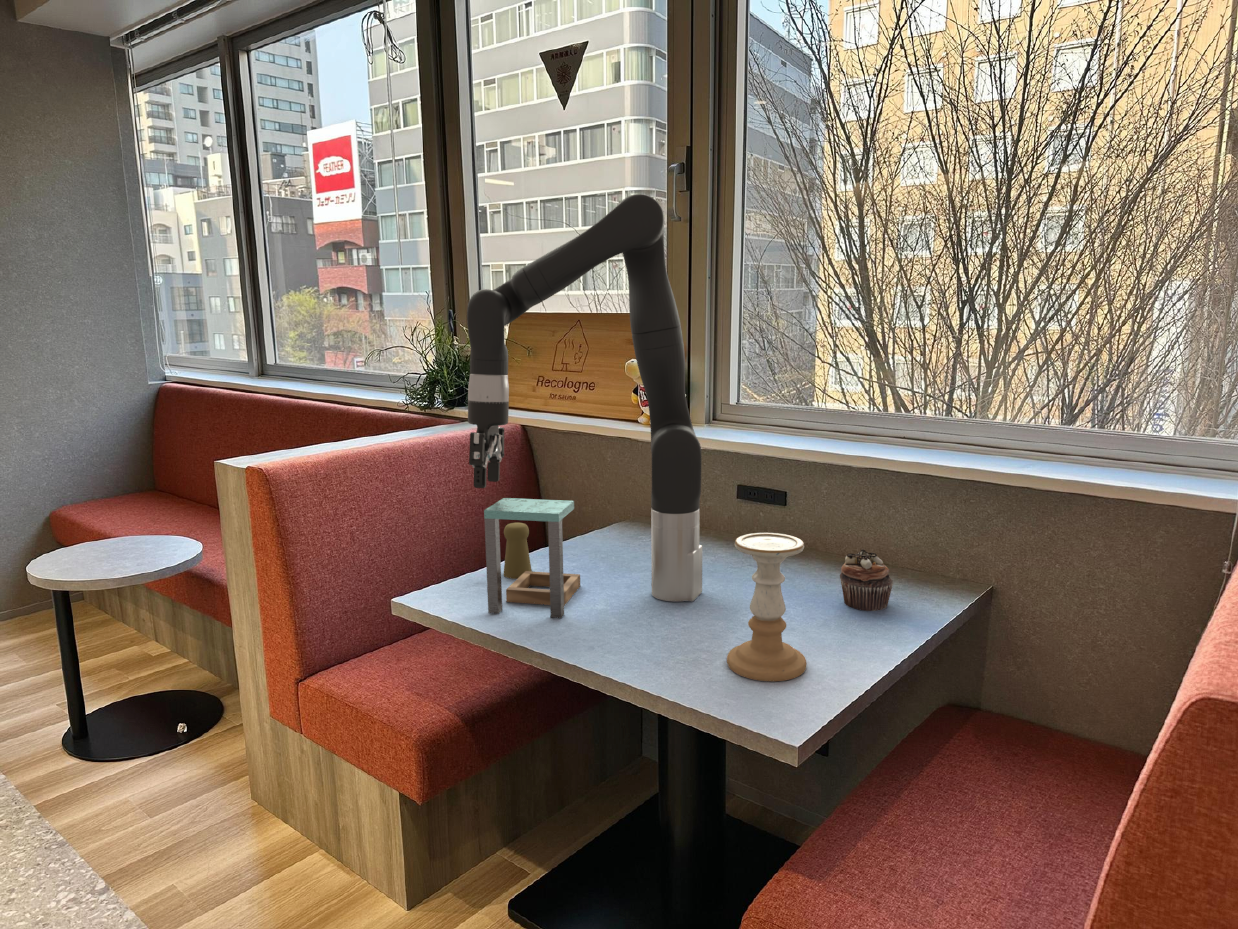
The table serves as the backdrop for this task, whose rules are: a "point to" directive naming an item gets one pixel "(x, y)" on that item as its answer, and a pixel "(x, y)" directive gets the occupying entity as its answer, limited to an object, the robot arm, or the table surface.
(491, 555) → the mint green stool
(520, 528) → the cork
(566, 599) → the socket
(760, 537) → the candle holder
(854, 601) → the cupcake
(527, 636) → the table surface
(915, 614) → the table surface
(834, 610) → the table surface
